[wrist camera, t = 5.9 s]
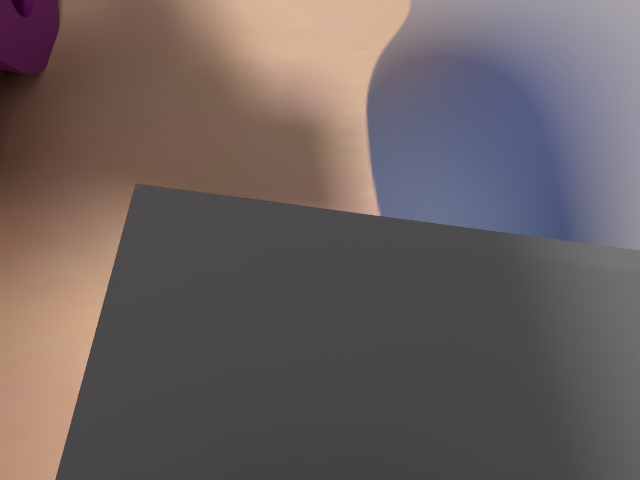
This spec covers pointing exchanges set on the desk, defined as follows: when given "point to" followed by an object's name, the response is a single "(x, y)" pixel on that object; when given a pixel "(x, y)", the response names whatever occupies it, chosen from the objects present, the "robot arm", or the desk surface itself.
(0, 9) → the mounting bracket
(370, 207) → the desk surface
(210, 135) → the desk surface
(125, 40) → the desk surface
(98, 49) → the desk surface
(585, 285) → the tan rectangular column
